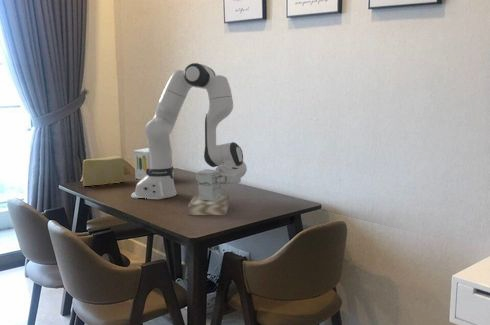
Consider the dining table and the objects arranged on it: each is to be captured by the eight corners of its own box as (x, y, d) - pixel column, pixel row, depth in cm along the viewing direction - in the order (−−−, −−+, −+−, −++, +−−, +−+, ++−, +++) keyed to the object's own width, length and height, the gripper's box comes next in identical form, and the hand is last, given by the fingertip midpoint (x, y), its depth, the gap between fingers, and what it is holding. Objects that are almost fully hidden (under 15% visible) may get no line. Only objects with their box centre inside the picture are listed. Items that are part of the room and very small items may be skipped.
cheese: (86, 188, 273) (84, 161, 270) (80, 185, 281) (78, 159, 278) (125, 183, 286) (124, 156, 283) (118, 180, 293) (117, 154, 291)
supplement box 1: (134, 179, 294) (133, 150, 291) (152, 176, 304) (151, 147, 301) (149, 182, 285) (147, 151, 283) (167, 178, 295) (166, 149, 292)
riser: (188, 215, 217) (188, 203, 216) (194, 205, 233) (193, 194, 232) (225, 214, 216) (225, 203, 215) (228, 205, 232) (228, 194, 231)
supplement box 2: (198, 200, 222) (196, 171, 220) (207, 196, 229) (206, 168, 227) (212, 201, 219) (211, 172, 217) (221, 197, 225) (220, 169, 223)
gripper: (204, 166, 238) (188, 171, 226) (243, 169, 228) (227, 174, 216) (205, 179, 239) (188, 185, 227) (243, 182, 229) (228, 188, 217)
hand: (208, 179), depth 221 cm, fingers closed on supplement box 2, 7 cm apart
